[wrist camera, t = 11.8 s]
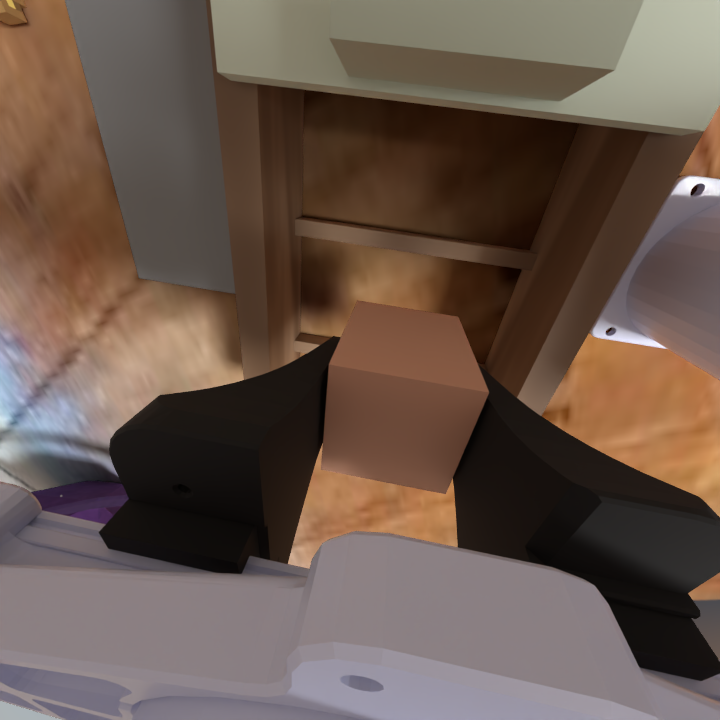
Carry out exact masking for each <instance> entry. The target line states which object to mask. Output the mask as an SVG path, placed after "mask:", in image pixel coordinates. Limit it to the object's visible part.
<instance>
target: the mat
mask: <svg viewBox="0 0 720 720" xmlns="http://www.w3.org/2000/svg"><path fill="white" fill-rule="evenodd" d="M65 3H66V6H67V10H68V14H69V18H70V21H71V25H72V29H73V33H74V36H75V40H76V44H77V48H78V52H79V55H80V59H81V63H82V67H83V70H84V74H85V78H86V82H87V85H88V89H89V93H90V97H91V100H92V104H93V108H94V112H95V115H96V119H97V123H98V127H99V130H100V134H101V138H102V142H103V145H104V149H105V153H106V157H107V160H108V164H109V168H110V172H111V175H112V179H113V183H114V187H115V190H116V194H117V198H118V202H119V205H120V209H121V213H122V217H123V221H124V224H125V228H126V232H127V236H128V239H129V243H130V247H131V251H132V254H133V258H134V262H135V266H136V269H137V273H138V277H139V278H141V279H147V280H153V281H159V282H165V283H172V284H178V285H184V286H190V287H196V288H202V289H208V290H214V291H220V292H227V293H233V294H235V285H234V275H233V265H232V256H231V246H230V236H229V226H228V216H227V206H226V196H225V186H224V176H223V166H222V156H221V147H220V137H219V127H218V117H217V107H216V97H215V87H214V77H213V67H212V57H211V47H210V37H209V28H208V18H207V8H206V0H65Z"/></svg>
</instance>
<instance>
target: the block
mask: <svg viewBox="0 0 720 720" xmlns="http://www.w3.org/2000/svg"><path fill="white" fill-rule="evenodd" d="M488 394H489V391H488V388H487V386H486V383H485V381H484V379H483V376H482V374H481V371H480V369H479V366H478V364H477V361H476V359H475V356H474V354H473V351H472V349H471V347H470V344H469V342H468V339H467V337H466V334H465V332H464V329H463V327H462V324H461V322H460V320H459V317H457V316H450V315H444V314H438V313H432V312H426V311H419V310H413V309H407V308H401V307H395V306H388V305H382V304H376V303H370V302H364V301H358V300H357V303H356V305H355V307H354V309H353V312H352V314H351V316H350V318H349V321H348V323H347V325H346V327H345V329H344V332H343V334H342V336H341V338H340V341H339V343H338V345H337V347H336V350H335V352H334V354H333V356H332V359H331V361H330V363H329V370H328V383H327V396H326V409H325V423H324V436H323V449H322V462H321V470H326V471H331V472H336V473H341V474H346V475H351V476H356V477H361V478H367V479H372V480H377V481H382V482H387V483H392V484H397V485H402V486H407V487H412V488H417V489H422V490H427V491H433V492H438V493H443V494H446V492H447V490H448V487H449V485H450V483H451V480H452V478H453V476H454V473H455V471H456V469H457V466H458V464H459V462H460V459H461V457H462V455H463V452H464V450H465V448H466V445H467V443H468V441H469V438H470V436H471V434H472V431H473V429H474V427H475V424H476V422H477V420H478V417H479V415H480V413H481V410H482V408H483V406H484V403H485V401H486V399H487V396H488Z"/></svg>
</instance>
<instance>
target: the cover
mask: <svg viewBox="0 0 720 720" xmlns="http://www.w3.org/2000/svg"><path fill="white" fill-rule="evenodd" d="M210 2H211V12H212V22H213V33H214V43H215V54H216V64H217V72H218V73H219V74H221V75H223V76H224V77H226V78H227V79H229V80H231V81H238V82H246V83H254V84H263V85H271V86H279V87H287V88H295V89H304V90H312V91H320V92H328V93H336V94H345V95H353V96H361V97H369V98H377V99H385V100H394V101H402V102H410V103H418V104H426V105H435V106H443V107H451V108H459V109H467V110H476V111H484V112H492V113H500V114H508V115H517V116H525V117H533V118H541V119H549V120H557V121H566V122H574V123H582V124H590V125H598V126H607V127H615V128H623V129H631V130H639V131H648V132H656V133H664V134H672V135H680V136H682V135H687V134H692V133H697V132H702V131H705V129H706V128H707V126H708V124H709V122H710V121H711V119H712V117H713V115H714V114H715V112H716V110H717V108H718V107H719V105H720V0H210Z"/></svg>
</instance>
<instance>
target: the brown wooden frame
mask: <svg viewBox="0 0 720 720" xmlns="http://www.w3.org/2000/svg"><path fill="white" fill-rule="evenodd" d="M206 8H207V18H208V28H209V37H210V47H211V57H212V67H213V77H214V87H215V97H216V107H217V117H218V127H219V137H220V147H221V156H222V166H223V176H224V186H225V196H226V206H227V216H228V226H229V236H230V246H231V256H232V265H233V275H234V285H235V295H236V305H237V315H238V325H239V335H240V345H241V355H242V365H243V374H244V380H246V379H249V378H252V377H256V376H259V375H262V374H265V373H268V372H270V371H273V370H275V369H278V368H280V367H282V366H284V365H286V364H289V363H290V362H292V361H294V360H296V359H298V358H300V352H301V353H309V352H310V351H312V350H313V349H315V348H317V347H318V346H320V345H321V344H323V343H324V342H326V341H327V340H329V339H330V338H327V337H321V336H315V335H309V334H304V333H300V316H301V255H302V236H304V237H311V238H317V239H324V240H331V241H337V242H344V243H351V244H357V245H364V246H371V247H377V248H384V249H391V250H397V251H404V252H411V253H417V254H424V255H430V256H437V257H444V258H450V259H457V260H464V261H470V262H477V263H484V264H490V265H497V266H504V267H510V268H517V269H522V271H521V273H520V276H519V278H518V281H517V283H516V286H515V288H514V291H513V293H512V296H511V298H510V301H509V304H508V306H507V309H506V311H505V314H504V316H503V319H502V321H501V324H500V326H499V329H498V331H497V334H496V336H495V339H494V341H493V344H492V347H491V349H490V352H489V354H488V357H487V359H486V362H485V364H481V363H477V364H479V365H480V366H481V367H482V368H483V369H484V370H486V371H487V372H488V373H489V374H490V375H491V376H492V377H493V378H494V379H496V380H497V381H498V382H499V383H500V384H501V385H502V386H503V387H505V388H506V389H507V390H508V391H509V392H510V393H512V394H513V395H514V396H515V397H516V398H518V399H519V400H520V401H522V402H523V403H524V404H525V405H527V406H528V407H529V408H531V409H532V410H533V411H535V412H536V413H537V414H539V415H540V416H541V415H542V414H543V412H544V410H545V408H546V407H547V405H548V403H549V402H550V400H551V398H552V396H553V395H554V393H555V391H556V389H557V388H558V386H559V384H560V382H561V381H562V379H563V377H564V375H565V374H566V372H567V370H568V368H569V367H570V365H571V363H572V361H573V360H574V358H575V356H576V354H577V353H578V351H579V349H580V347H581V346H582V344H583V342H584V340H585V339H586V337H587V335H588V333H589V332H590V330H591V328H592V326H593V325H594V323H595V321H596V319H597V318H598V316H599V314H600V312H601V311H602V309H603V307H604V305H605V304H606V302H607V300H608V298H609V297H610V295H611V293H612V291H613V290H614V288H615V286H616V284H617V283H618V281H619V279H620V277H621V276H622V274H623V272H624V270H625V269H626V267H627V265H628V263H629V262H630V260H631V258H632V256H633V255H634V253H635V251H636V249H637V248H638V246H639V244H640V242H641V241H642V239H643V237H644V235H645V234H646V232H647V230H648V228H649V227H650V225H651V223H652V221H653V220H654V218H655V216H656V215H657V213H658V211H659V209H660V208H661V206H662V204H663V202H664V201H665V199H666V197H667V195H668V194H669V192H670V190H671V188H672V187H673V185H674V183H675V181H676V180H677V178H678V176H679V174H680V173H681V171H682V169H683V167H684V166H685V164H686V162H687V160H688V159H689V157H690V155H691V153H692V152H693V150H694V148H695V146H696V145H697V143H698V141H699V139H700V138H701V136H702V134H703V132H704V131H702V132H697V133H692V134H687V135H682V136H680V135H672V134H664V133H656V132H648V131H639V130H631V129H623V128H615V127H607V126H598V125H590V124H582V123H580V124H579V126H578V129H577V132H576V134H575V137H574V139H573V142H572V144H571V147H570V149H569V152H568V154H567V157H566V159H565V162H564V164H563V167H562V169H561V172H560V175H559V177H558V180H557V182H556V185H555V187H554V190H553V192H552V195H551V197H550V200H549V202H548V205H547V207H546V210H545V212H544V215H543V218H542V220H541V223H540V225H539V228H538V230H537V233H536V235H535V238H534V240H533V243H532V245H531V248H530V250H523V249H517V248H510V247H503V246H496V245H489V244H483V243H476V242H469V241H462V240H455V239H448V238H442V237H435V236H428V235H421V234H414V233H408V232H401V231H394V230H387V229H380V228H374V227H367V226H360V225H353V224H346V223H339V222H333V221H326V220H319V219H312V218H305V217H302V195H303V134H304V89H295V88H287V87H279V86H271V85H263V84H254V83H246V82H238V81H231V80H229V79H227V78H226V77H224V76H223V75H221V74H219V73H218V72H217V64H216V54H215V43H214V33H213V22H212V12H211V2H210V0H206Z"/></svg>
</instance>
